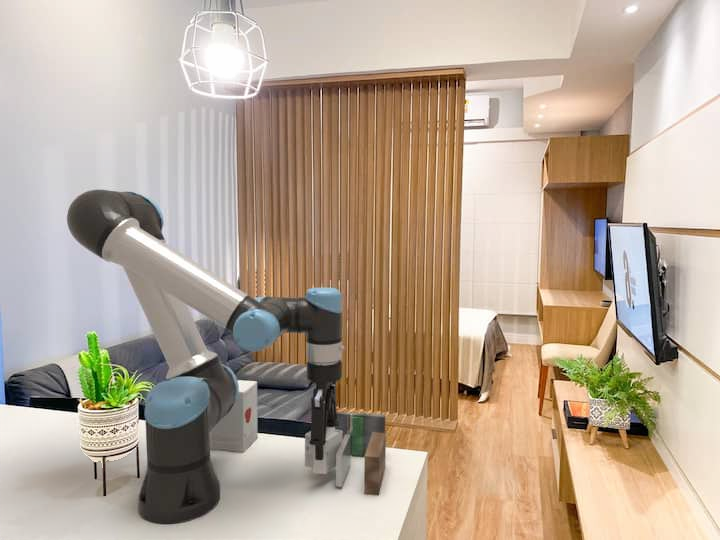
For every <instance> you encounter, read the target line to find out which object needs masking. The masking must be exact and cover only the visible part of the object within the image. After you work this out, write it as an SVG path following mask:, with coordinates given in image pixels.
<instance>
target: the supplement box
mask: <svg viewBox="0 0 720 540" xmlns="http://www.w3.org/2000/svg"><path fill="white" fill-rule="evenodd" d="M237 381H238V385H239V392H238V397H237V400H236V402H235V404H234V405H233V407H232V409H231V410H230V412H229V413H228V414H227V415H226V416H225V417H223V418H222V419H221V420H220V421H219V422H218V423H217V424H216V425H215V426H214V427H213V428H212V429H211V431H210V450H216V451H217V450H218V451H219V450H220V451H228V452H237V453H244V452H245V451H247V450H248V448H249V447H250V446H252V444H253V443H254V442H255V441H256V440H258V381H255V380H243V379H242V380H239V379H237Z"/></svg>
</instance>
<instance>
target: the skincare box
mask: <svg viewBox="0 0 720 540" xmlns="http://www.w3.org/2000/svg"><path fill="white" fill-rule="evenodd" d="M342 433H343V431H340V430H336V429H334V428H330V427H327V428H326V442H327V474H328V473H330V472H331V471H333V470H334V469H336V453H337V451H338V449H339V447H340V445H341V442H342ZM309 441H311V430H309V431H308V432H306V433H305V434H304V466H305V467H306V468H309V469H312V470H314V452H313V445H311V444H309Z"/></svg>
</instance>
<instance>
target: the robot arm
mask: <svg viewBox="0 0 720 540" xmlns="http://www.w3.org/2000/svg"><path fill="white" fill-rule="evenodd" d="M66 214H67V216H66V224H67V227H68V230H69V231H70V234H71V236H72V237H73V238H74V239H75V241H76V242H78V243H79V244H80V245H81V246H82V247H83V248H85V249H86V250H88V251H89V252H91V253H92V254H94V255H96V256H98V257H99V258H100V259H102V260H104V261H106V262H109V263H114V264H116V265H119V266H122V267H123V270H124V271H125V274H126V276H127V278H128V281H129V283H130V285H131V287H132V290H133V291H134V294H135V296H136V298H137V300H138V302H139V304H140V306H141V309H142V311H143V313H144V316H145V317H146V319H147V322H148V324H149V326H150V328H151V331H152V332H153V335H154V337H155V339H156V341H157V343H158V346H159V349H160V350H161V352H162V354H163V356H164V359H165V361H166V363H167V365H168V371H167V374H166V376H165V379H166V380H164V381H163V380H162V381H160V382H159V383H156V385H154V386H152V387H151V388H150V390H149V391H148V392H147V393H146V397H145V407H144V419H145V436H146V437H145V440H146V441H145V442H146V444H145V445H146V463H147V464H146V467H147V468H146V471H145V474H144V479H143V482H142V485H141V487H140V488H141V489H140V492H139V494H138V512H139V515H141V517H142V518H144V519H145V520H147V521H151V522H153V523H158V524H159V523H160V524H175V523H181V522H186V521H190V520H193V519H194V520H195V519H196V518H199V517H201V516H204V515H205V514H206V513H208V512H210V511H211V510H213V509H214V508H215V507H217V505H218V503H219V502H220V499H221V485H220V481H219V478H218V476H217V473H216V470H215V467H214V466H213V463H212V460H211V459H212V458H211V449H210V431H211V429H212V428H213V427H214V426H215V425H216V424H217V423H218V422H219V421H220V420H221V419H222V418H223V417H225V416H226V415H227V414H228V413H229V412H230V410H231V409H232V407H233V405H234V404H235V402H236V400H237V397H238V392H239V385H238V381H237V380H238V378H237V376H236V374H235V373H234V371H233V370H232V369H231V368H230V367H229V366H226V365H224V364H223V363H222V362H221V360H220V358H219V355H218V354H217V353H216V352H213V351H210V350H209V349H207V346H206V344H205V343H204V340H203V337H202V335H201V334H200V331H199V329H198V327H197V324H196V322H195V320H194V318H193V316H192V314H191V312H190V309H189V308H191V309H193V310H195V311H196V312H198V313H200V314H201V315H203V316H204V317H206V318H208V319H210V320H211V321H212V322H215V323H216V324H218V325H219V326H221V327H222V328H224V329H225V330H227V331H229V332H230V333H232V335H233V338H234V340H235V342H236V344H237V345H238V347H240V348H241V349H242V350H245V351H248V352H254V353H255V352H256V353H257V352H260V351H263V350H265V349H267V348H269V347H270V346H272V345H274V343H275V342H276V341H277V340H278V339H279V338H280V337H281V336H282V335H283V334H285V333H286V334H289V333H290V334H291V333H292V334H294V333H295V334H302V333H304V334H306V345H305V346H306V349H305V351H306V354H305V355H306V360H307V362H306V378H307V381H310V382H313V383H314V384H315V388H313V392H312V393H313V394H312V395H313V396H311V397H310V402H311V420H310V421H311V422H310V424H311V425H310V431H311V441H309V444H311V445H313V452H314V469H313V474H321V475H327V474H328V473H327V442H326V428H327V427H330V428H334V429H335V427H333V426H338V424H339V421H335V420H336V419H337V412H338V411H337V410H338V408H337V406H338V405H337V382H338V381H340V380H341V379H342V377H343V362H342V361H341V360H342V357H343V354H342V353H343V351H344V350H345V346H344V345H342V343H343V341H342V340H343V306H342V305H343V304H342V293H341V291H340V290H339V289H337V288H335V287H325V286H324V287H312V288H309V289H307V290H306V291H305V293H306V294H305V295H304V296H303V297H284V296H283V297H282V296H281V297H280V296H278V297H277V296H271V295H270V296H269V295H267V296H258V297H251V295H248V294H247V293H246V292H244V291H242V290H241V289H240V288H238V287H235V286H234V285H232V284H230V283H229V282H227V281H226V280H224V279H223V278H222V277H220V276H218V275H216V274H215V273H214V272H212V271H211V270H209V269H207V268H205V267H204V266H202V265H200V264H199V263H197V262H195V261H194V260H192V259H191V258H189V257H187V256H186V255H184V254H183V253H181V252H180V251H177V250H176V249H175V248H172V247H171V246H170V245H168V244H167V243H166V239H165V237H164V235H163V227H164V222H165V220H164V215H163V213H162V211H161V209H160V207H159V206H158V204H157V203H156V202H155V201H154V200H152V199H151V198H150V197H147V196H146V195H143V194H140V193H137V192H134V191H116V190H108V189H98V188H97V189H92V190H87V191H85V192H83V193H81V194H79V195H77V196H76V198H74V199H73V201H72V202H71V203H70V205H69V207H68V209H67V213H66Z"/></svg>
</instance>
